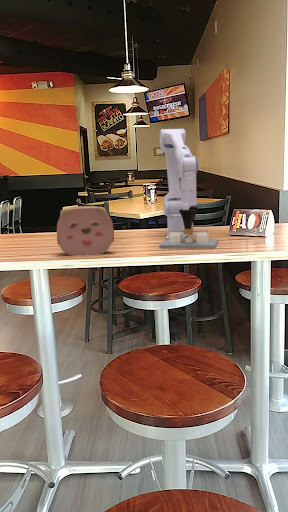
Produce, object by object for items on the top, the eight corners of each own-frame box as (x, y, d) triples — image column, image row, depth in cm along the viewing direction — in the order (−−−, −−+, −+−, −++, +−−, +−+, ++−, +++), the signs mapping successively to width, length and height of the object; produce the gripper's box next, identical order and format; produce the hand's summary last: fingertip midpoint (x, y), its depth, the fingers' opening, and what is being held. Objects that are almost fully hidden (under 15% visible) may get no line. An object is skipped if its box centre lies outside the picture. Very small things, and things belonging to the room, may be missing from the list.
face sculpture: (57, 257, 152) (53, 208, 149) (59, 253, 159) (55, 207, 156) (115, 254, 153) (112, 206, 150) (114, 250, 160) (112, 204, 157)
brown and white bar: (171, 233, 167) (170, 222, 166) (208, 233, 164) (208, 222, 163) (169, 234, 164) (169, 223, 164) (207, 234, 161) (207, 223, 160)
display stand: (166, 241, 174) (166, 231, 173) (217, 241, 169) (217, 231, 168) (159, 248, 161) (159, 236, 160) (214, 248, 156) (214, 237, 155)
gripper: (180, 189, 169) (181, 224, 172) (174, 192, 155) (175, 230, 158) (199, 189, 167) (199, 224, 170) (194, 191, 153) (194, 230, 156)
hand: (189, 227), depth 164 cm, fingers open, 6 cm apart
